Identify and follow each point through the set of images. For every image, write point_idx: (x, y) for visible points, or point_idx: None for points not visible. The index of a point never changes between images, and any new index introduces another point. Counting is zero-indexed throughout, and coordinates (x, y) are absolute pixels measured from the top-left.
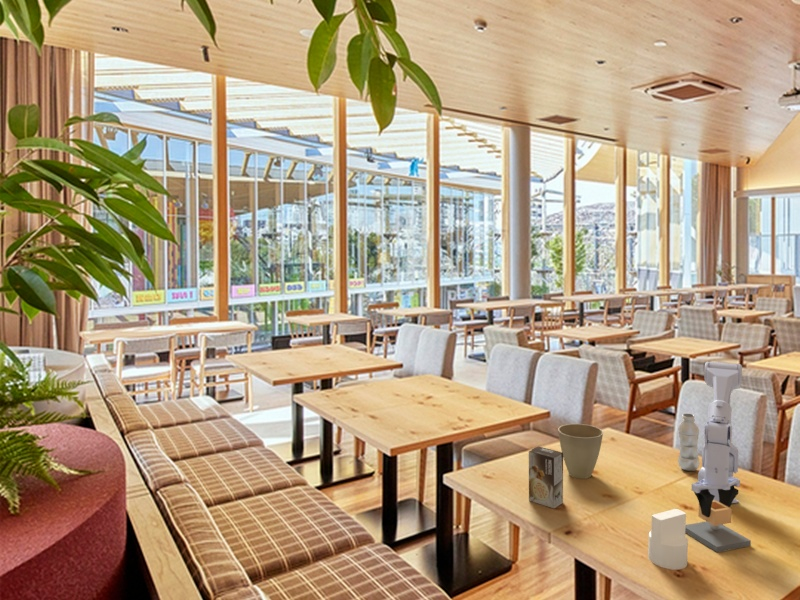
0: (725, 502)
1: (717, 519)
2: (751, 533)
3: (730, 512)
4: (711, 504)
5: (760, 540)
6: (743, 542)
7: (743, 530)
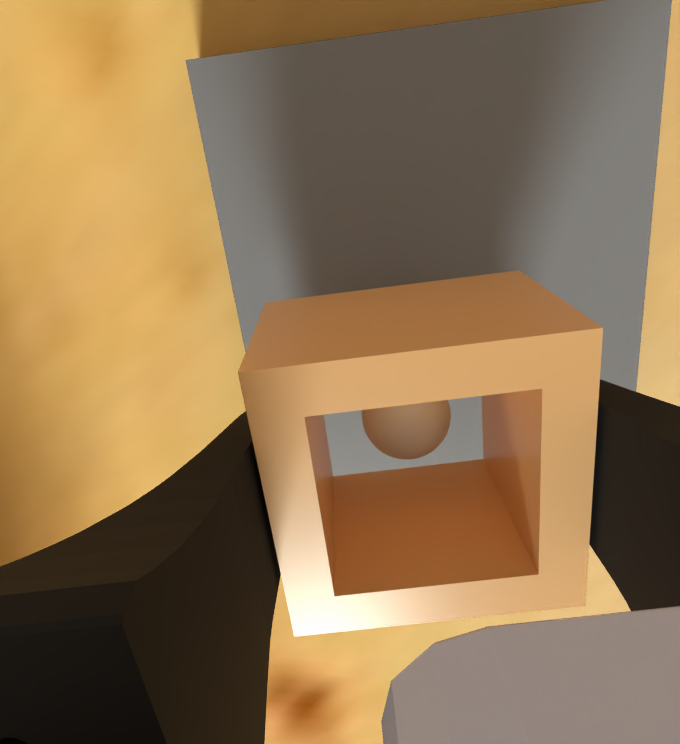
0: (249, 522)
1: (498, 295)
2: (40, 292)
3: (271, 344)
4: (670, 435)
5: (29, 154)
6: (289, 47)
7: (83, 352)
